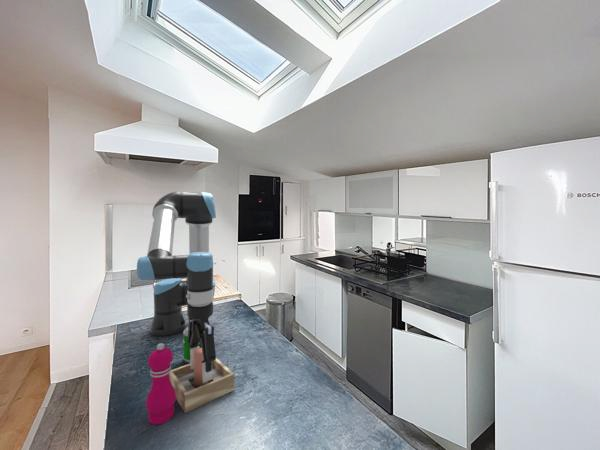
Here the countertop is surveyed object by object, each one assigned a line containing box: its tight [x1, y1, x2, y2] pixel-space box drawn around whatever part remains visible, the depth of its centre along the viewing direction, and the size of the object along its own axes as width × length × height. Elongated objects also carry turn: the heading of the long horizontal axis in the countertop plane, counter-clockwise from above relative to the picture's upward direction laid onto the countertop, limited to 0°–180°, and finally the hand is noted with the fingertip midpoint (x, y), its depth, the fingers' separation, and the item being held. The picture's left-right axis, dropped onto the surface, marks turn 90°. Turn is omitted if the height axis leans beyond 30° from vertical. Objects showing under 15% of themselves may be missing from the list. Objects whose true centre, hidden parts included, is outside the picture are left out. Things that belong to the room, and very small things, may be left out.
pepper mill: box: [145, 342, 177, 425], centre depth 74 cm, size 7×7×20 cm
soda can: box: [182, 326, 204, 364], centre depth 103 cm, size 8×8×12 cm
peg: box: [193, 348, 209, 389], centre depth 86 cm, size 4×4×12 cm
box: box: [169, 357, 235, 413], centre depth 86 cm, size 15×15×5 cm
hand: (200, 373), depth 86 cm, fingers open, 9 cm apart
